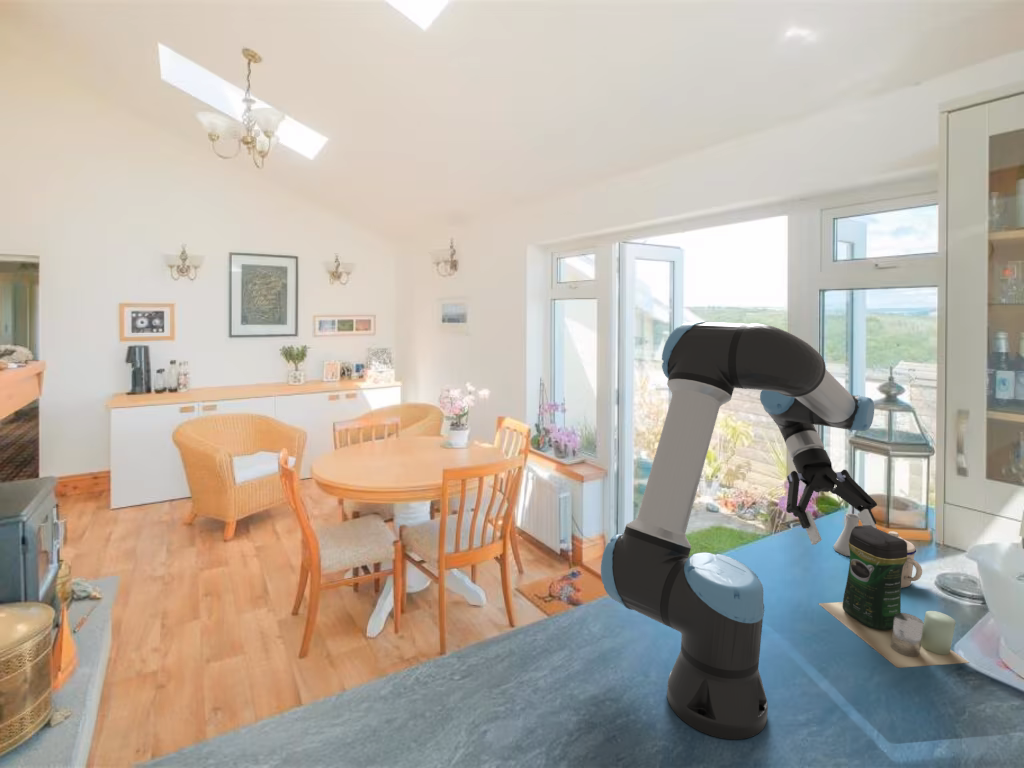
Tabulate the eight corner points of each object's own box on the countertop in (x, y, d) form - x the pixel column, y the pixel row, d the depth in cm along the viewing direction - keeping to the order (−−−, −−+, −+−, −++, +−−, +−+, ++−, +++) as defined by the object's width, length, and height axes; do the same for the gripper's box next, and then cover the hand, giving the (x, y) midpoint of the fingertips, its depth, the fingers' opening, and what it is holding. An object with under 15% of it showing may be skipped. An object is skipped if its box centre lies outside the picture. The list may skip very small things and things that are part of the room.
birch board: (896, 675, 97) (897, 667, 97) (817, 610, 117) (818, 603, 117) (968, 670, 98) (969, 662, 98) (878, 606, 119) (878, 600, 119)
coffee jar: (907, 629, 108) (918, 539, 105) (874, 634, 106) (884, 543, 103) (865, 603, 117) (874, 520, 115) (834, 608, 115) (842, 523, 113)
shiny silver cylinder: (904, 658, 99) (907, 627, 98) (884, 643, 103) (888, 613, 103) (926, 656, 100) (930, 625, 99) (906, 641, 104) (909, 612, 103)
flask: (871, 558, 142) (875, 521, 140) (842, 557, 142) (846, 520, 141) (855, 546, 149) (859, 511, 148) (828, 545, 149) (831, 510, 148)
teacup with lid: (856, 572, 134) (861, 526, 133) (887, 568, 137) (892, 523, 135) (901, 597, 123) (907, 547, 121) (934, 592, 125) (940, 544, 123)
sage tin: (924, 651, 101) (930, 621, 100) (916, 637, 105) (922, 608, 104) (953, 657, 99) (959, 627, 98) (944, 643, 104) (950, 614, 102)
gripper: (848, 460, 136) (889, 545, 123) (751, 463, 133) (783, 549, 121) (866, 445, 130) (911, 532, 117) (765, 447, 127) (800, 536, 115)
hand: (846, 541), depth 119 cm, fingers open, 13 cm apart
